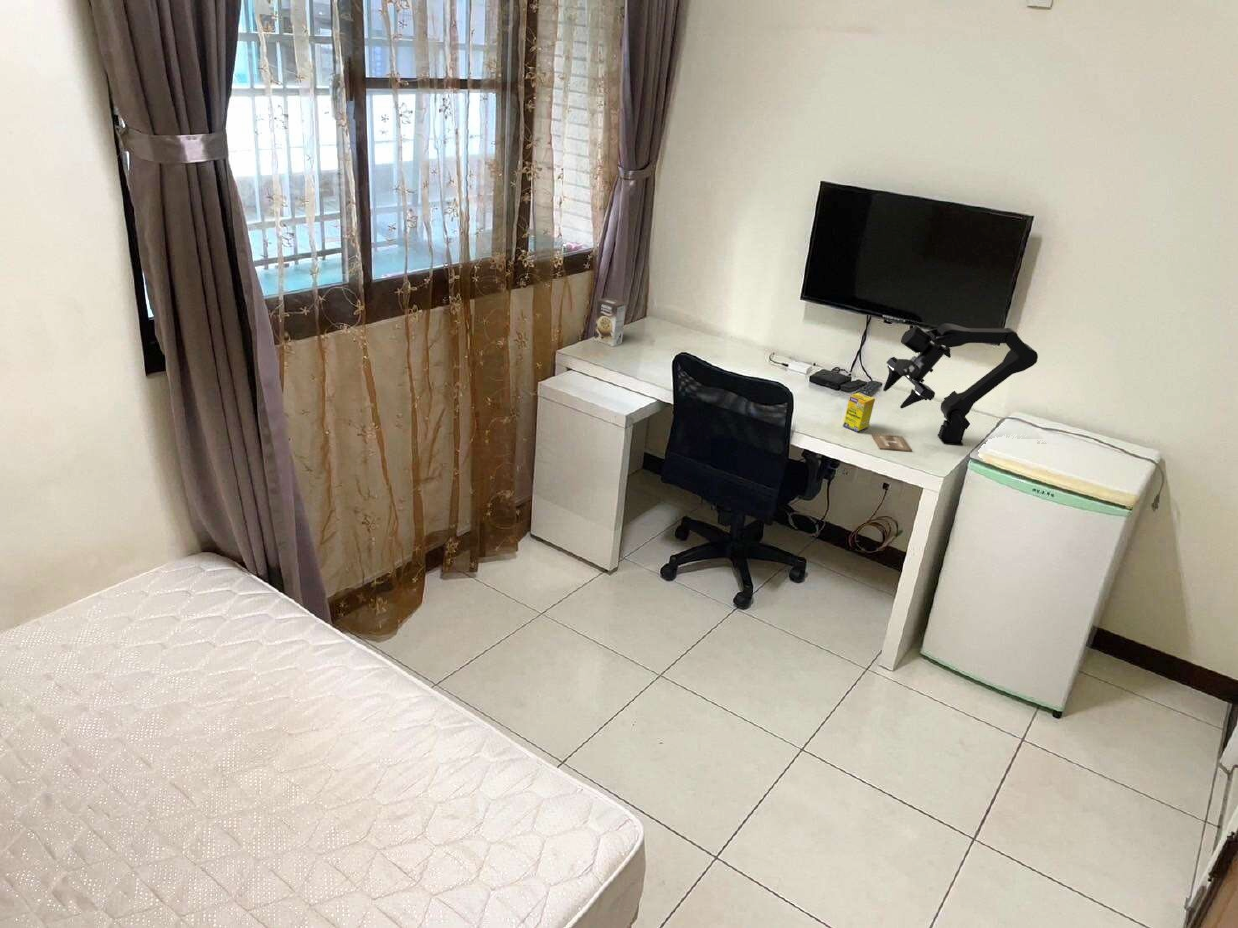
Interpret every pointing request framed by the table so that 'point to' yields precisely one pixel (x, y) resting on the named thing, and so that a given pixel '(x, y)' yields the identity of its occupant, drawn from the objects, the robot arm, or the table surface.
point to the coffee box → (610, 321)
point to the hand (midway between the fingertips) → (892, 399)
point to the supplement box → (858, 412)
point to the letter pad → (891, 442)
